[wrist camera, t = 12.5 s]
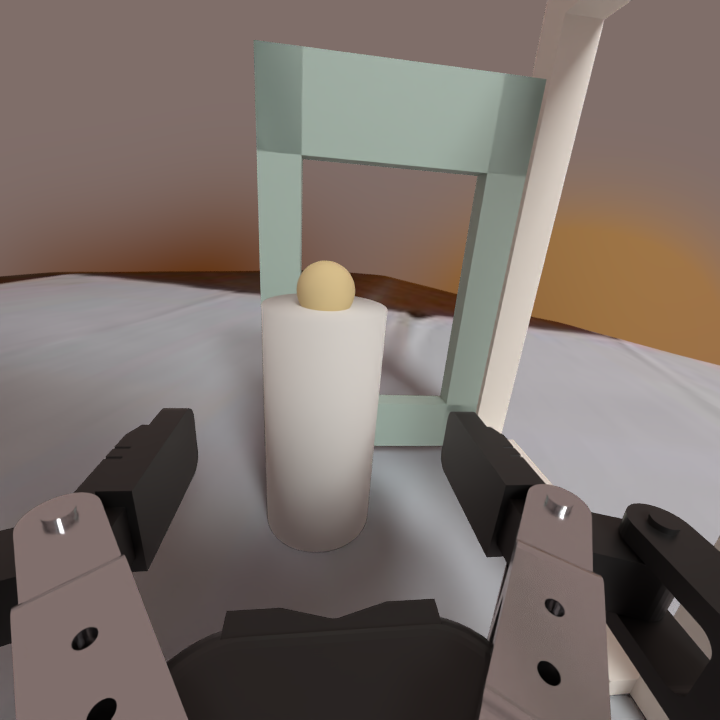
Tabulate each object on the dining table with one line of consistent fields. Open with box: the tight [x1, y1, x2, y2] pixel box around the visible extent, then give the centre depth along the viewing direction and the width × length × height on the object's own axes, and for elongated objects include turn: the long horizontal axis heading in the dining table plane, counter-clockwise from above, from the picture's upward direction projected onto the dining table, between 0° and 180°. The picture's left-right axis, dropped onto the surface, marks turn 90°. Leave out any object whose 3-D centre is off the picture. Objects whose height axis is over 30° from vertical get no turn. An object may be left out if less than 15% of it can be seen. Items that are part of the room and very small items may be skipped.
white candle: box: [261, 261, 387, 552], centre depth 17 cm, size 5×5×13 cm
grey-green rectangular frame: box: [254, 40, 547, 446], centre depth 20 cm, size 13×3×20 cm, turn 96°
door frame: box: [476, 0, 720, 720], centre depth 14 cm, size 4×18×26 cm, turn 6°
